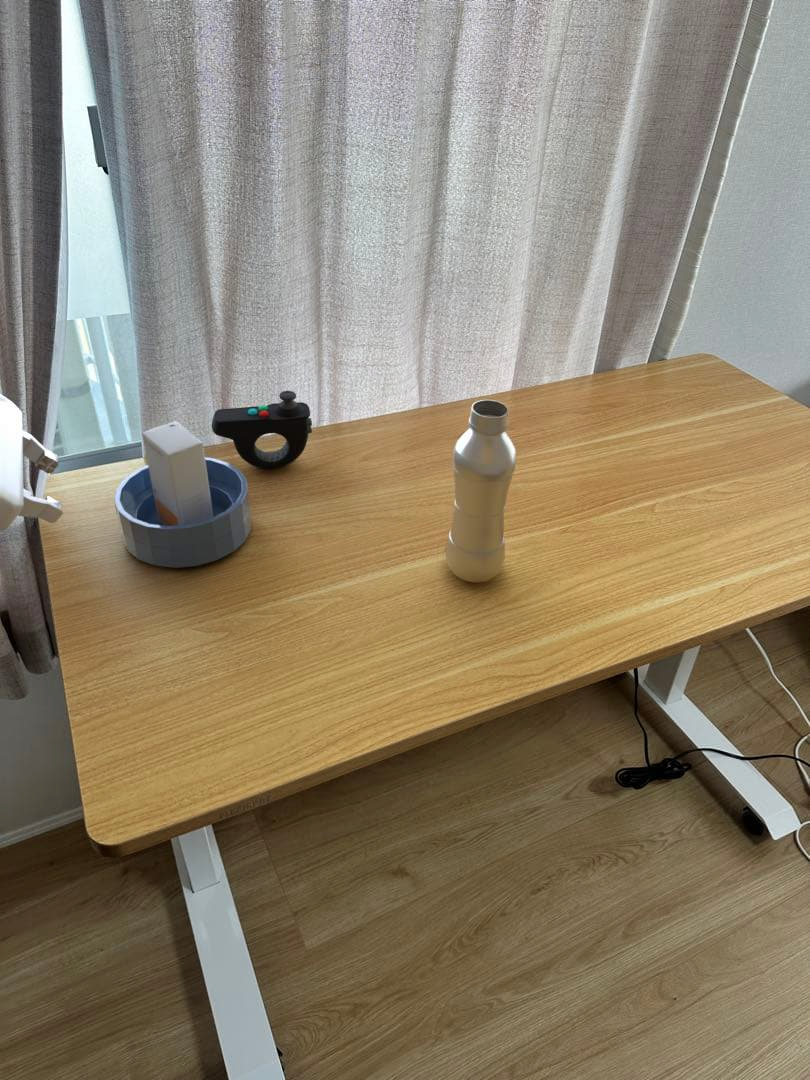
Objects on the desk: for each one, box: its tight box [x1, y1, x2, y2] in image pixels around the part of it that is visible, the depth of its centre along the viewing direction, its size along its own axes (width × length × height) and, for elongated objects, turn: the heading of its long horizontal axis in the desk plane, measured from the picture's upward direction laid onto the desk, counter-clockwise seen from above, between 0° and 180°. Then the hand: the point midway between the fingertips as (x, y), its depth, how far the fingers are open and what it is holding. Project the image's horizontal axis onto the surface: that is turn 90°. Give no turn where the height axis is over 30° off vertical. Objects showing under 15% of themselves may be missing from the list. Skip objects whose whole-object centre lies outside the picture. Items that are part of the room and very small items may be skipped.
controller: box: [211, 390, 313, 470], centre depth 101 cm, size 4×12×10 cm, turn 102°
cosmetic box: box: [141, 420, 213, 526], centre depth 88 cm, size 6×4×12 cm
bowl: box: [113, 456, 252, 569], centre depth 91 cm, size 14×14×6 cm
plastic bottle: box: [444, 399, 518, 583], centre depth 83 cm, size 6×7×20 cm
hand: (57, 489), depth 83 cm, fingers open, 8 cm apart
